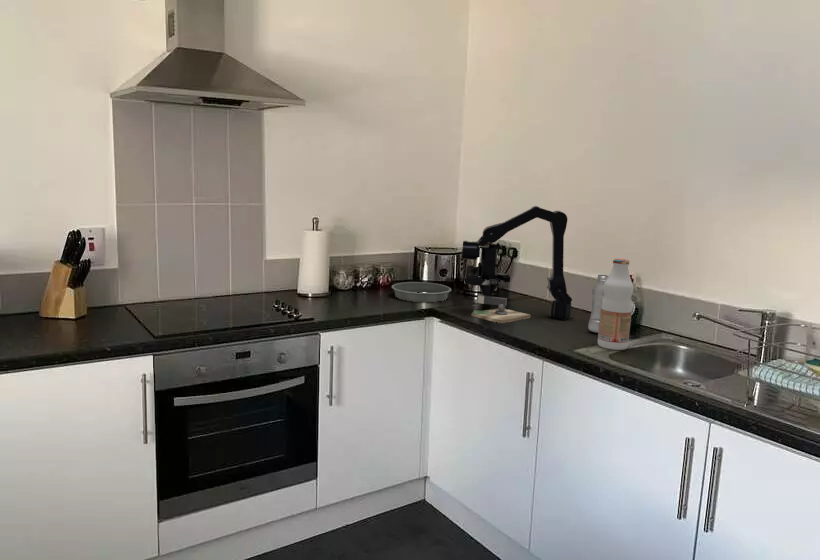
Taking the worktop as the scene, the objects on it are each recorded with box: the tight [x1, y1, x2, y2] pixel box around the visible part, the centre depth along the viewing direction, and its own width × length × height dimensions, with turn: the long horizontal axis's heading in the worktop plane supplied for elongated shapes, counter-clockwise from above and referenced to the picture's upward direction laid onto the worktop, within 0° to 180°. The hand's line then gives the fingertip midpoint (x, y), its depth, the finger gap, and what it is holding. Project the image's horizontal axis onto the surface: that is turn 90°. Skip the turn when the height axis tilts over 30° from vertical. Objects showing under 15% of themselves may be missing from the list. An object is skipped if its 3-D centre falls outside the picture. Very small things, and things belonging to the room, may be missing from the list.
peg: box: [476, 294, 508, 311], centre depth 254 cm, size 11×2×4 cm, turn 68°
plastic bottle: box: [587, 274, 609, 334], centre depth 235 cm, size 6×7×20 cm
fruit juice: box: [597, 258, 635, 351], centre depth 217 cm, size 9×9×28 cm
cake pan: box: [391, 281, 452, 303], centre depth 283 cm, size 25×25×4 cm
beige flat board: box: [470, 308, 531, 324], centre depth 254 cm, size 16×18×2 cm
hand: (486, 301), depth 258 cm, fingers closed
